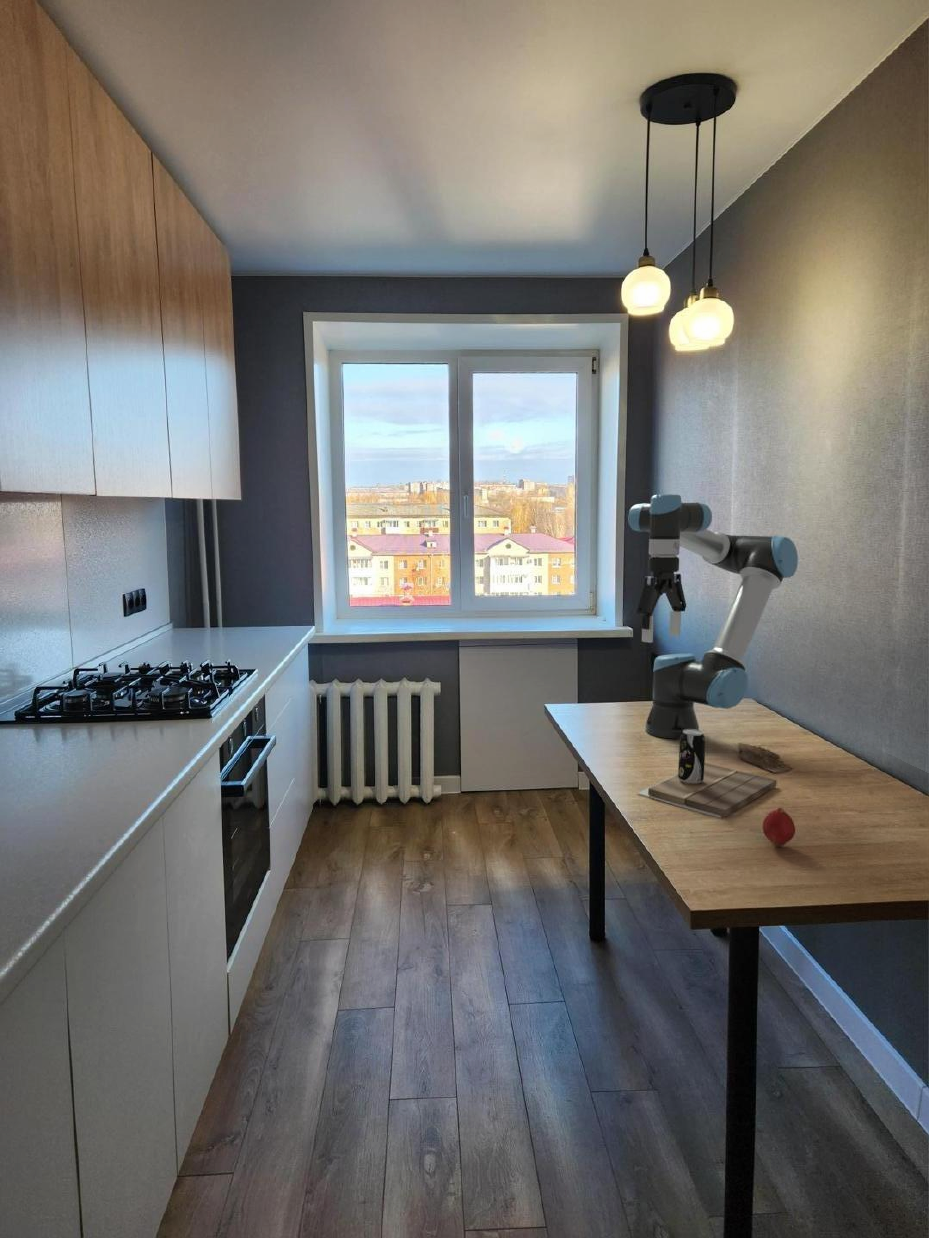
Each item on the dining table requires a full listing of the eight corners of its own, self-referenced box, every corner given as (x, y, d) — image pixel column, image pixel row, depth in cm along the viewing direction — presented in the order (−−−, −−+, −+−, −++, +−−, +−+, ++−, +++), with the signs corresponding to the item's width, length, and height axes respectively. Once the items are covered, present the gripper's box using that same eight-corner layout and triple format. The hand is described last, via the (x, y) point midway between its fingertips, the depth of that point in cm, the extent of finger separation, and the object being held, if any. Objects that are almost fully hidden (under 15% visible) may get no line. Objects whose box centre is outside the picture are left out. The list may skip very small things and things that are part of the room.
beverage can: (672, 779, 180) (674, 729, 179) (690, 775, 183) (693, 726, 181) (690, 787, 175) (693, 736, 174) (708, 783, 178) (711, 732, 177)
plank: (703, 767, 193) (703, 762, 193) (738, 776, 187) (738, 770, 187) (648, 794, 175) (648, 788, 175) (684, 805, 169) (684, 798, 168)
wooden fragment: (798, 774, 190) (798, 770, 190) (752, 774, 190) (753, 770, 190) (764, 744, 215) (764, 741, 215) (724, 744, 216) (724, 740, 216)
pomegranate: (756, 840, 151) (758, 801, 150) (784, 839, 151) (786, 800, 150) (770, 853, 145) (772, 812, 144) (799, 852, 146) (802, 811, 145)
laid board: (739, 777, 187) (739, 770, 186) (776, 786, 180) (776, 779, 180) (685, 805, 168) (685, 798, 168) (724, 816, 162) (725, 809, 162)
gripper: (650, 558, 184) (648, 646, 187) (701, 554, 201) (698, 635, 204) (623, 557, 189) (621, 642, 192) (675, 553, 207) (673, 632, 209)
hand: (661, 639), depth 198 cm, fingers open, 13 cm apart
